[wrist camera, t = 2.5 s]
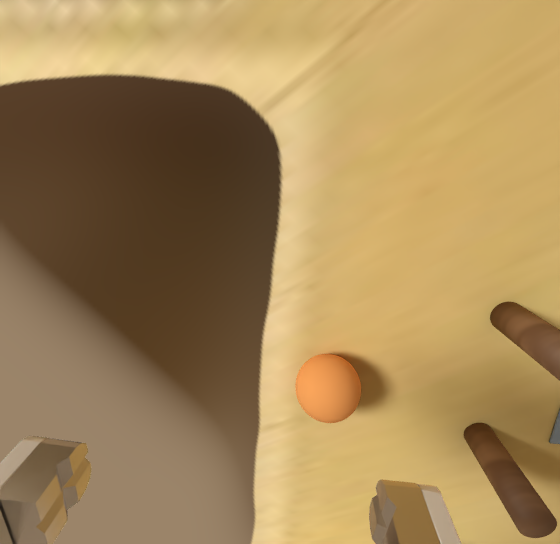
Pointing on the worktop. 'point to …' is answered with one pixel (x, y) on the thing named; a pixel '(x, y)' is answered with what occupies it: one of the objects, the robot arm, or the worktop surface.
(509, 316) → the post
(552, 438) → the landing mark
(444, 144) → the worktop surface
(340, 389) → the ball
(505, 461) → the post
